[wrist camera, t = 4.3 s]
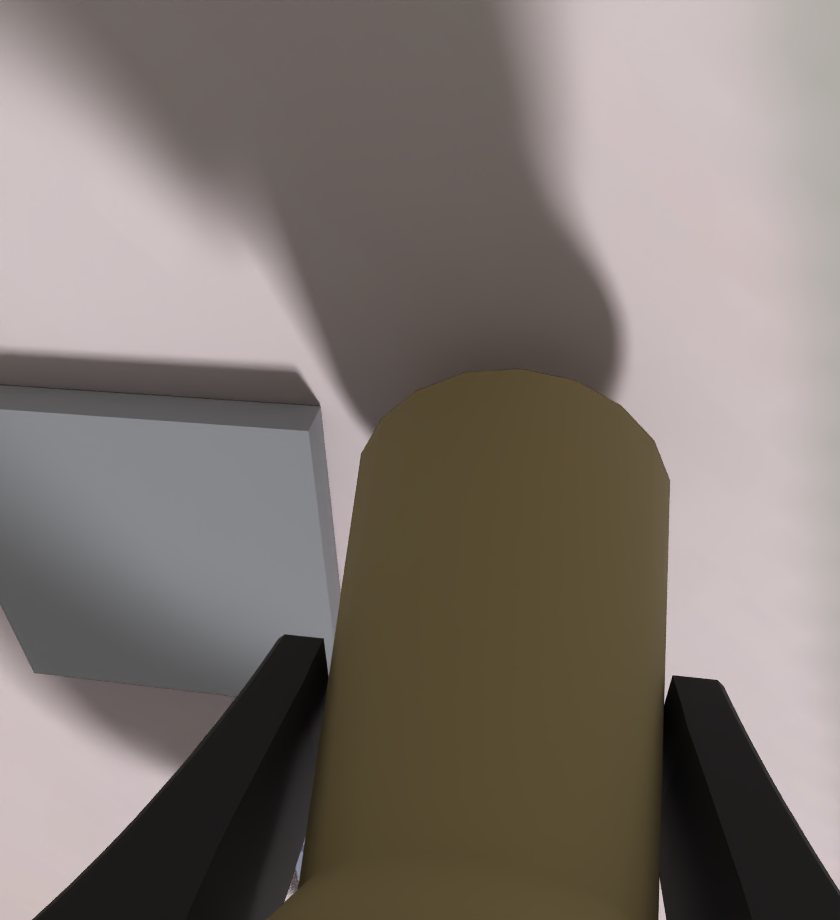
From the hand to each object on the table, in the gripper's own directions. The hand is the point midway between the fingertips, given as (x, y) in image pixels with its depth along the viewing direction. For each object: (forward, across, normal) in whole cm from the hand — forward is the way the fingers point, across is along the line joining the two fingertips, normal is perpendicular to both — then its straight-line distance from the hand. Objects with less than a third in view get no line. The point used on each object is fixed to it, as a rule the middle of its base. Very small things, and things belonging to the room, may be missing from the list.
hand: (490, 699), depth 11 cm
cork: (+4, 0, 0) cm, 5 cm away
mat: (+7, +9, +4) cm, 12 cm away
